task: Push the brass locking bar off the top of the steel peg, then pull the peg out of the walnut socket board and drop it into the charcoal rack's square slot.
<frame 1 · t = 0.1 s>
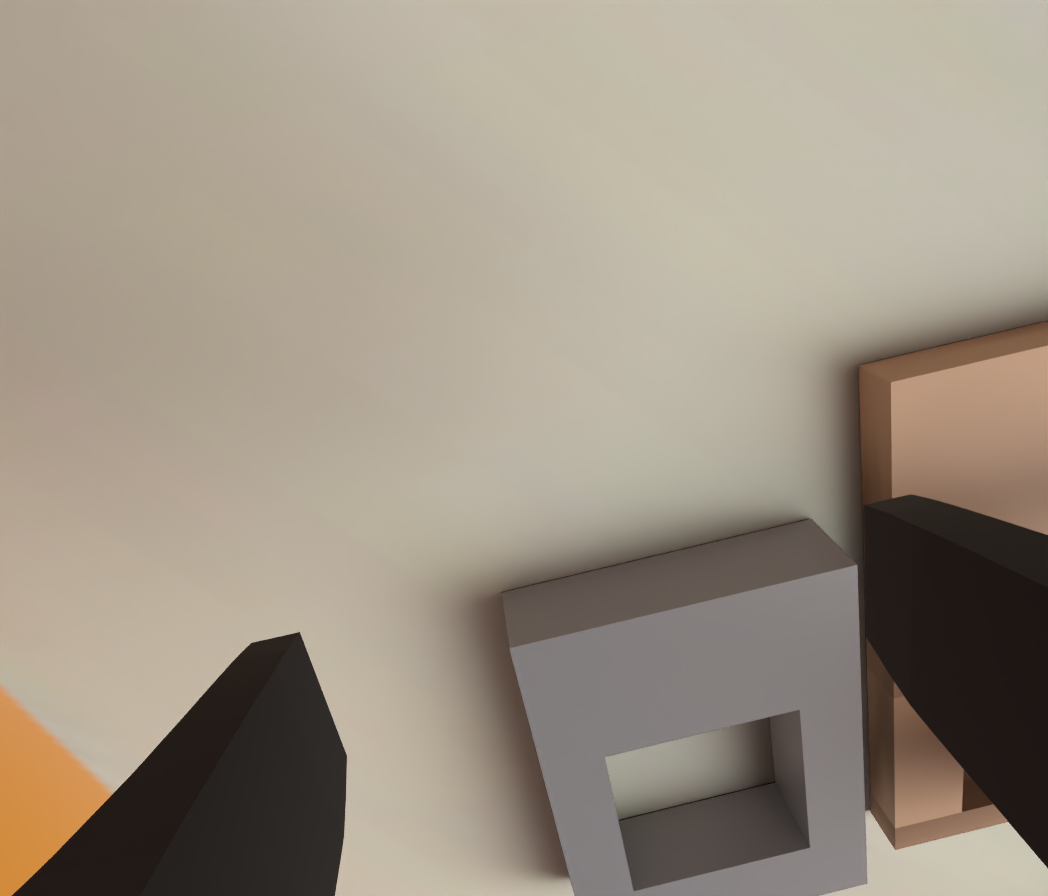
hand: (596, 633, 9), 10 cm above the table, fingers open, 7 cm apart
rack: (682, 716, 23), on the table
socket board: (1023, 582, 23), on the table
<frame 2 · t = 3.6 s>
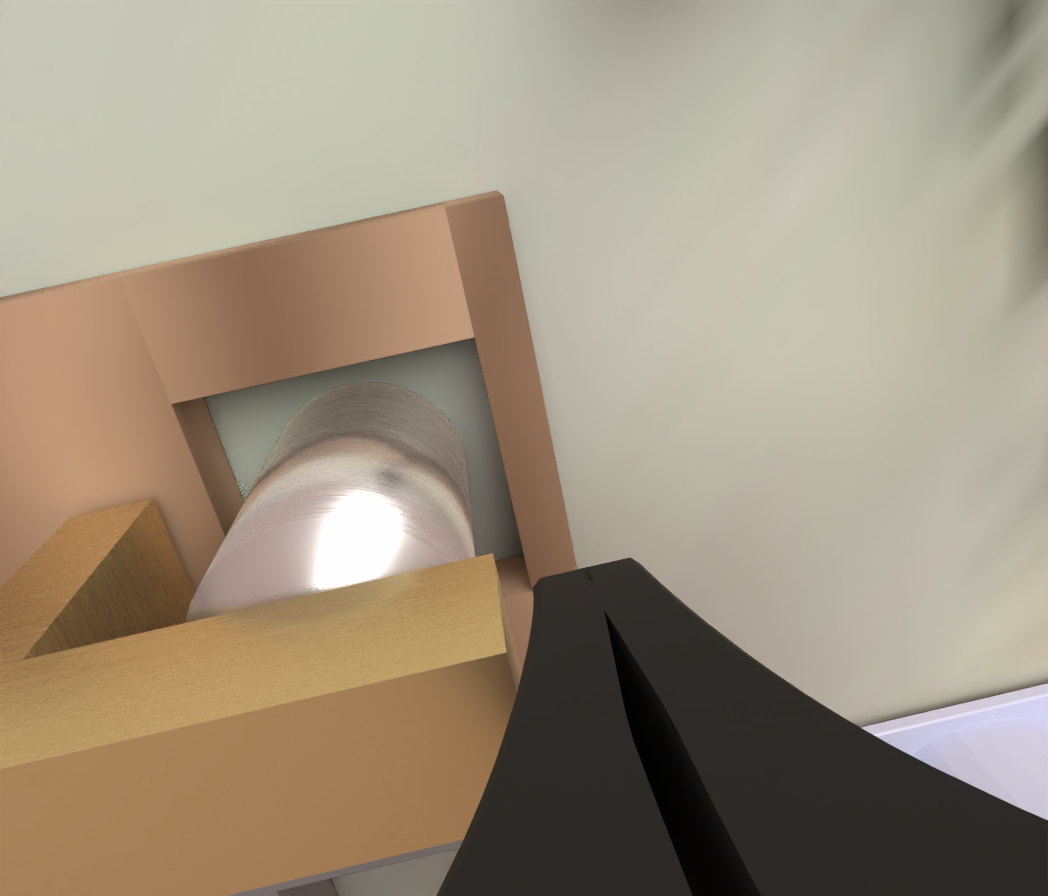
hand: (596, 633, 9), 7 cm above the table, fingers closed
rack: (392, 858, 20), on the table
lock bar: (255, 633, 11), point 5 cm above the table, slide at 0.1 cm, touching gripper
socket board: (161, 520, 16), on the table
peg: (372, 472, 16), resting in socket board
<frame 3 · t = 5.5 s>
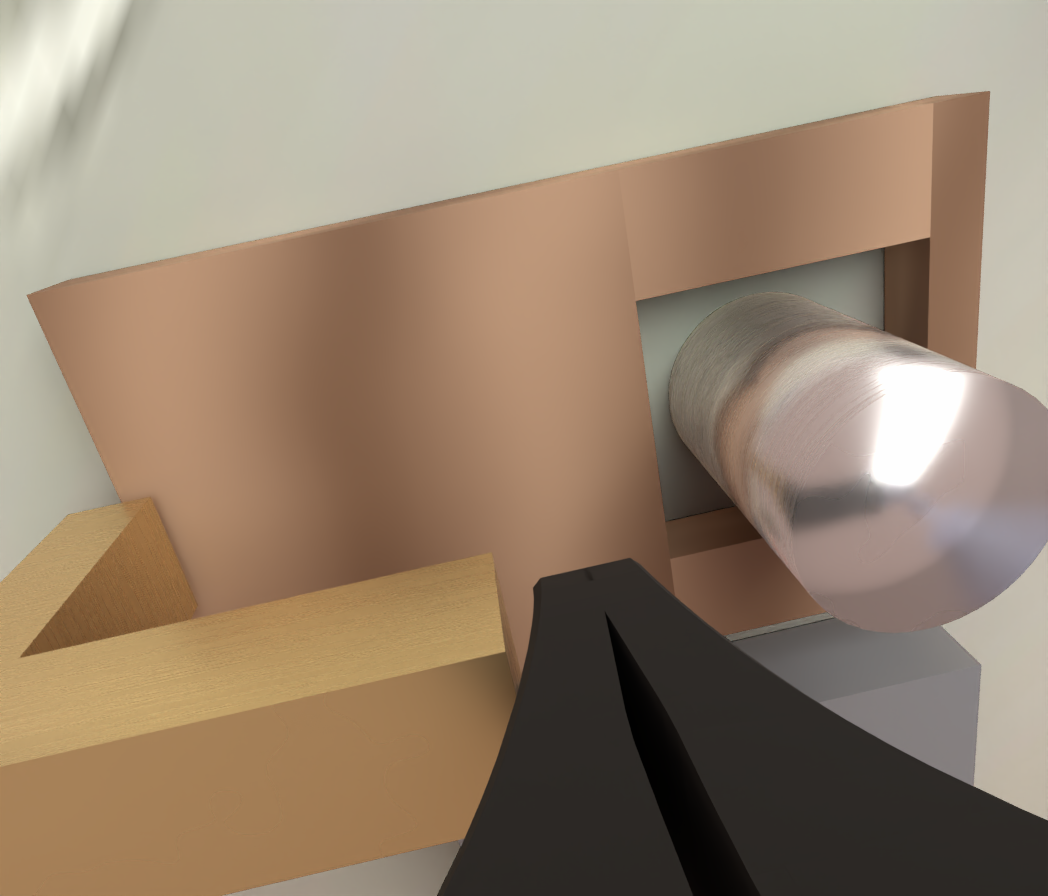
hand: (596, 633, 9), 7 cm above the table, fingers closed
rack: (697, 785, 20), on the table
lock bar: (253, 632, 11), point 5 cm above the table, slide at 8.6 cm, touching gripper
socket board: (555, 431, 16), on the table
peg: (759, 385, 16), resting in socket board
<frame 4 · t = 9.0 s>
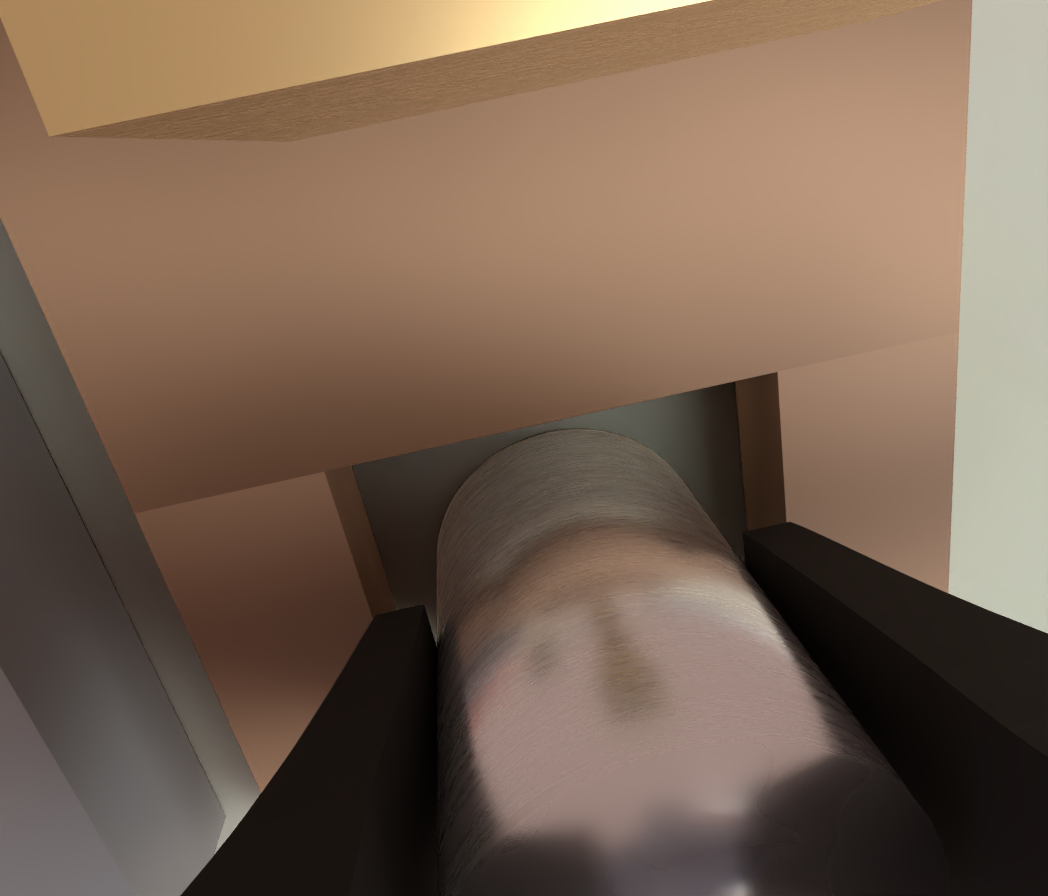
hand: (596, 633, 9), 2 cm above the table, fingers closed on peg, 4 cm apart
socket board: (512, 255, 9), on the table
peg: (569, 552, 11), resting in socket board, touching gripper
when the fingers open (3 cm above the table, at t = 12.8 s): peg drops 1 cm, resting in rack.
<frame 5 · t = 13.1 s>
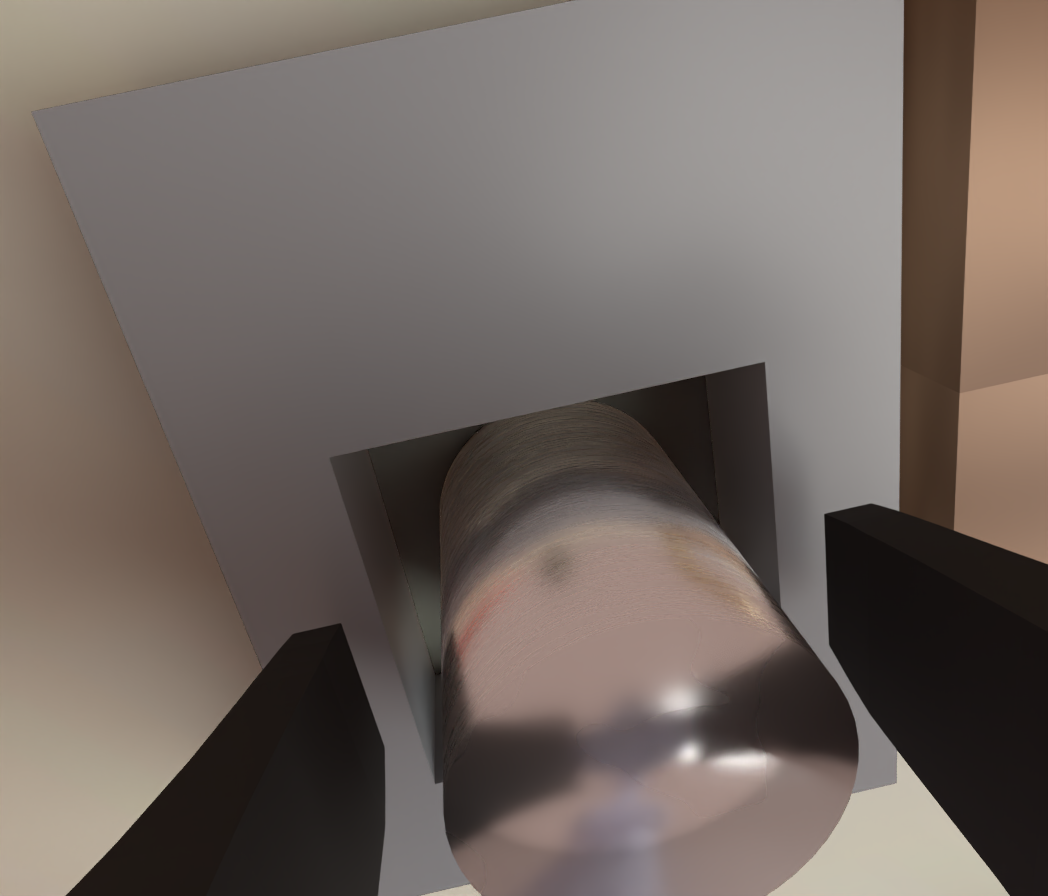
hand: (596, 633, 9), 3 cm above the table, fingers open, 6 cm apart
rack: (546, 457, 12), on the table
peg: (558, 510, 13), resting in rack
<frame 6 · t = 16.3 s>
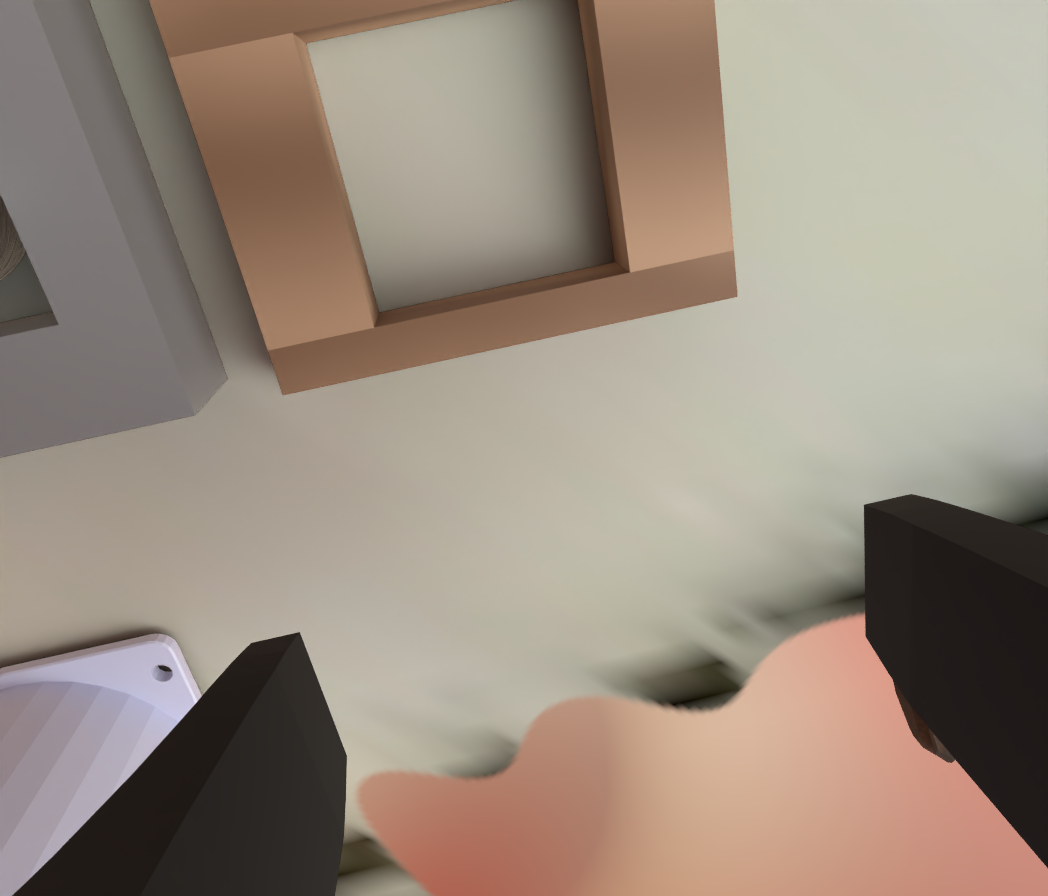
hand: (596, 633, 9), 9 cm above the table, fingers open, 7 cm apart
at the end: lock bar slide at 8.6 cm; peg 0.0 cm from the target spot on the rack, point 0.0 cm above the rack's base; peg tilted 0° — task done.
